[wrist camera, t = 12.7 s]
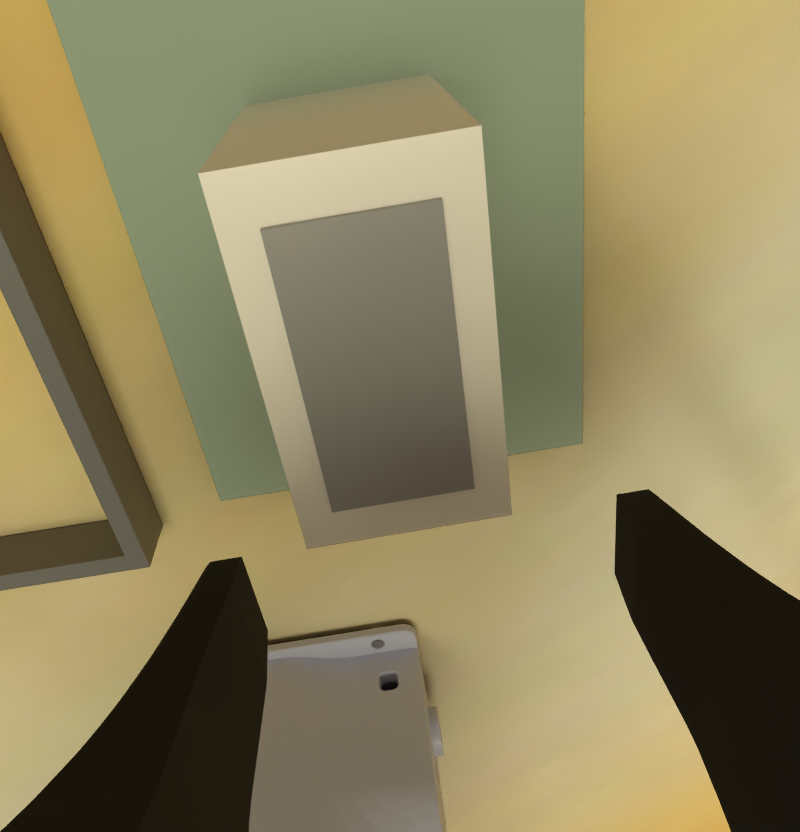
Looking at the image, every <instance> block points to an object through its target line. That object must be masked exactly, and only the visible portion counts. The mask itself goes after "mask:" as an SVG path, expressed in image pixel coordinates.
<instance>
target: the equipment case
mask: <svg viewBox="0 0 800 832" xmlns="http://www.w3.org/2000/svg"><path fill="white" fill-rule="evenodd" d="M0 289H1V291H2V293H3V295H4V297H5V300H6V302H7V304H8V306H9V308H10V310H11V312H12V315H13V317H14V319H15V321H16V323H17V325H18V327H19V330H20V332H21V334H22V336H23V338H24V340H25V343H26V345H27V347H28V349H29V351H30V353H31V355H32V358H33V360H34V362H35V364H36V366H37V368H38V370H39V373H40V375H41V377H42V379H43V381H44V383H45V385H46V388H47V390H48V392H49V394H50V396H51V398H52V400H53V403H54V405H55V407H56V409H57V411H58V413H59V416H60V418H61V420H62V422H63V424H64V426H65V428H66V431H67V433H68V435H69V437H70V439H71V441H72V443H73V446H74V448H75V450H76V452H77V454H78V456H79V458H80V461H81V463H82V465H83V467H84V469H85V471H86V473H87V476H88V478H89V480H90V482H91V484H92V486H93V489H94V491H95V493H96V495H97V497H98V499H99V501H100V504H101V506H102V508H103V510H104V512H105V514H106V516H107V519H108V520H106V521H100V522H93V523H87V524H81V525H74V526H68V527H62V528H55V529H49V530H43V531H37V532H30V533H24V534H18V535H11V536H5V537H0V591H1V590H7V589H14V588H20V587H26V586H33V585H39V584H45V583H51V582H58V581H64V580H70V579H77V578H83V577H89V576H96V575H102V574H108V573H114V572H121V571H127V570H133V569H140V568H146V567H150V565H151V562H152V558H153V555H154V552H155V549H156V545H157V542H158V539H159V536H160V533H161V529H162V526H163V525H162V523H161V521H160V518H159V516H158V513H157V511H156V509H155V506H154V504H153V501H152V499H151V497H150V494H149V492H148V489H147V487H146V484H145V482H144V480H143V477H142V475H141V472H140V470H139V468H138V465H137V463H136V460H135V458H134V455H133V453H132V451H131V448H130V446H129V443H128V441H127V439H126V436H125V434H124V431H123V429H122V426H121V424H120V422H119V419H118V417H117V414H116V412H115V410H114V407H113V405H112V402H111V400H110V398H109V395H108V393H107V390H106V388H105V385H104V383H103V381H102V378H101V376H100V373H99V371H98V369H97V366H96V364H95V361H94V359H93V356H92V354H91V352H90V349H89V347H88V344H87V342H86V340H85V337H84V335H83V332H82V330H81V327H80V325H79V323H78V320H77V318H76V315H75V313H74V311H73V308H72V306H71V303H70V301H69V298H68V296H67V294H66V291H65V289H64V286H63V284H62V282H61V279H60V277H59V274H58V272H57V270H56V267H55V265H54V262H53V260H52V257H51V255H50V253H49V250H48V248H47V245H46V243H45V241H44V238H43V236H42V233H41V231H40V228H39V226H38V224H37V221H36V219H35V216H34V214H33V212H32V209H31V207H30V204H29V202H28V199H27V197H26V195H25V192H24V190H23V187H22V185H21V183H20V180H19V178H18V175H17V173H16V170H15V168H14V166H13V163H12V161H11V158H10V156H9V154H8V151H7V149H6V146H5V144H4V142H3V139H2V137H1V134H0Z"/></svg>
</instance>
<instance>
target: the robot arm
mask: <svg viewBox="0 0 800 832" xmlns="http://www.w3.org/2000/svg"><path fill="white" fill-rule="evenodd" d="M615 575H616V578H617V581H618V584H619V586H620V589H621V592H622V595H623V597H624V600H625V603H626V605H627V608H628V611H629V613H630V616H631V618H632V621H633V623H634V625H635V627H636V629H637V631H638V633H639V635H640V637H641V639H642V641H643V642H644V644H645V646H646V648H647V650H648V652H649V654H650V656H651V658H652V660H653V662H654V664H655V666H656V667H657V669H658V671H659V673H660V675H661V677H662V679H663V681H664V683H665V685H666V686H667V688H668V690H669V692H670V694H671V696H672V698H673V700H674V702H675V704H676V705H677V707H678V709H679V711H680V713H681V715H682V717H683V719H684V721H685V723H686V724H687V726H688V729H689V731H690V733H691V735H692V737H693V739H694V741H695V743H696V745H697V748H698V750H699V752H700V755H701V757H702V760H703V762H704V764H705V767H706V769H707V772H708V774H709V777H710V779H711V782H712V784H713V787H714V789H715V791H716V794H717V796H718V799H719V801H720V804H721V806H722V809H723V812H724V814H725V817H726V819H727V822H728V824H729V827H730V830H731V832H800V600H798V599H797V598H795V597H793V596H792V595H790V594H788V593H787V592H785V591H784V590H782V589H781V588H779V587H778V586H776V585H775V584H773V583H772V582H770V581H769V580H767V579H766V578H764V577H763V576H761V575H760V574H758V573H757V572H755V571H754V570H753V569H751V568H750V567H748V566H747V565H745V564H744V563H743V562H741V561H740V560H739V559H737V558H736V557H735V556H733V555H732V554H731V553H729V552H728V551H726V550H725V549H724V548H722V547H721V546H720V545H718V544H717V543H716V542H714V541H713V540H712V539H711V538H709V537H708V536H707V535H705V534H704V533H703V532H702V531H700V530H699V529H698V528H696V527H695V526H694V525H693V524H691V523H690V522H689V521H688V520H686V519H685V518H684V517H683V516H681V515H680V514H679V513H678V512H676V511H675V510H674V509H673V508H672V507H670V506H669V505H668V504H667V503H665V502H664V501H663V500H662V499H660V498H659V497H658V496H657V495H655V494H654V493H653V492H651V491H650V490H649V489H648V490H641V491H635V492H629V493H623V494H617V503H616V541H615ZM375 640H379V641H375ZM443 754H444V752H443V744H442V738H441V731H440V725H439V718H438V712H437V707H436V706H433V707H429V704H428V699H427V693H426V688H425V682H424V677H423V671H422V666H421V660H420V655H419V649H418V644H417V638H416V633H415V630H414V628H413V627H412V626H410V625H407V624H399V625H393V626H387V627H380V628H374V629H368V630H362V631H355V632H349V633H343V634H336V635H330V636H324V637H317V638H311V639H305V640H299V641H292V642H286V643H280V644H273V645H268V630H267V627H266V625H265V622H264V619H263V616H262V613H261V610H260V608H259V605H258V602H257V599H256V596H255V593H254V591H253V588H252V585H251V582H250V579H249V576H248V574H247V571H246V568H245V565H244V562H243V559H242V557H238V558H232V559H226V560H219V561H213V562H210V563H209V564H208V565H207V567H206V568H205V570H204V572H203V573H202V575H201V577H200V578H199V580H198V582H197V583H196V585H195V587H194V589H193V590H192V592H191V594H190V595H189V597H188V599H187V600H186V602H185V604H184V605H183V607H182V609H181V610H180V612H179V614H178V615H177V617H176V619H175V620H174V622H173V623H172V625H171V626H170V628H169V630H168V631H167V633H166V634H165V636H164V637H163V639H162V640H161V642H160V644H159V645H158V647H157V648H156V650H155V651H154V653H153V654H152V656H151V657H150V659H149V660H148V662H147V663H146V665H145V666H144V668H143V669H142V670H141V672H140V673H139V675H138V676H137V677H136V679H135V680H134V682H133V683H132V684H131V686H130V687H129V689H128V690H127V691H126V693H125V694H124V696H123V697H122V698H121V700H120V701H119V702H118V704H117V705H116V706H115V707H114V709H113V710H112V711H111V713H110V714H109V715H108V717H107V718H106V719H105V720H104V722H103V723H102V724H101V725H100V726H99V728H98V729H97V730H96V731H95V733H94V734H93V735H92V736H91V737H90V739H89V740H88V741H87V742H86V743H85V745H84V746H83V747H82V748H81V749H80V750H79V751H78V753H77V754H76V755H75V756H74V757H73V758H72V759H71V760H70V761H69V762H68V764H67V765H66V766H65V767H64V768H63V769H62V770H61V771H60V772H59V773H58V774H57V775H56V776H55V777H54V778H53V779H52V781H51V782H50V783H49V784H48V785H47V786H46V787H45V788H44V789H43V790H42V791H41V792H40V793H39V794H38V795H37V796H36V798H35V799H34V800H33V801H32V802H31V803H30V804H29V805H27V806H26V807H25V808H24V809H23V810H22V811H21V812H20V813H19V814H18V815H17V816H16V817H15V818H14V819H13V820H12V821H11V822H10V823H9V824H8V825H7V826H6V827H5V828H4V829H2V830H1V831H0V832H447V829H446V822H445V814H444V807H443V799H442V792H441V785H440V777H439V770H438V763H437V757H438V756H443Z"/></svg>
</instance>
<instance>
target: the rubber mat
mask: <svg viewBox="0 0 800 832" xmlns="http://www.w3.org/2000/svg"><path fill="white" fill-rule="evenodd" d="M47 2H48V5H49V8H50V11H51V14H52V17H53V20H54V23H55V25H56V28H57V31H58V34H59V37H60V40H61V43H62V46H63V48H64V51H65V54H66V57H67V60H68V63H69V66H70V69H71V72H72V74H73V77H74V80H75V83H76V86H77V89H78V92H79V95H80V97H81V100H82V103H83V106H84V109H85V112H86V115H87V118H88V120H89V123H90V126H91V129H92V132H93V135H94V138H95V141H96V143H97V146H98V149H99V152H100V155H101V158H102V161H103V164H104V166H105V169H106V172H107V175H108V178H109V181H110V184H111V187H112V190H113V192H114V195H115V198H116V201H117V204H118V207H119V210H120V213H121V215H122V218H123V221H124V224H125V227H126V230H127V233H128V236H129V238H130V241H131V244H132V247H133V250H134V253H135V256H136V259H137V261H138V264H139V267H140V270H141V273H142V276H143V279H144V282H145V284H146V287H147V290H148V293H149V296H150V299H151V302H152V305H153V308H154V310H155V313H156V316H157V319H158V322H159V325H160V328H161V331H162V333H163V336H164V339H165V342H166V345H167V348H168V351H169V354H170V356H171V359H172V362H173V365H174V368H175V371H176V374H177V377H178V379H179V382H180V385H181V388H182V391H183V394H184V397H185V400H186V402H187V405H188V408H189V411H190V414H191V417H192V420H193V423H194V425H195V428H196V431H197V434H198V437H199V440H200V443H201V446H202V449H203V451H204V454H205V457H206V460H207V463H208V466H209V469H210V472H211V474H212V477H213V480H214V483H215V486H216V489H217V492H218V495H219V497H220V500H221V501H224V500H230V499H236V498H242V497H249V496H255V495H261V494H268V493H274V492H280V491H287V490H290V489H289V485H288V482H287V478H286V475H285V471H284V468H283V465H282V461H281V458H280V454H279V451H278V447H277V444H276V440H275V437H274V434H273V430H272V427H271V423H270V420H269V416H268V413H267V410H266V406H265V403H264V399H263V396H262V392H261V389H260V385H259V382H258V379H257V375H256V372H255V368H254V365H253V361H252V358H251V354H250V351H249V348H248V344H247V341H246V337H245V334H244V330H243V327H242V323H241V320H240V317H239V313H238V310H237V306H236V303H235V299H234V296H233V292H232V289H231V286H230V282H229V279H228V275H227V272H226V268H225V265H224V261H223V258H222V255H221V251H220V248H219V244H218V241H217V237H216V234H215V230H214V227H213V224H212V220H211V217H210V213H209V210H208V206H207V203H206V199H205V196H204V193H203V189H202V186H201V182H200V179H199V175H198V173H199V171H200V170H201V168H202V167H203V166H204V164H205V163H206V161H207V160H208V158H209V157H210V155H211V154H212V152H213V151H214V149H215V148H216V146H217V145H218V144H219V142H220V141H221V139H222V138H223V136H224V135H225V133H226V132H227V130H228V129H229V127H230V126H231V125H232V123H233V122H234V120H235V119H236V117H237V116H238V114H239V113H240V111H241V110H242V108H243V107H244V105H250V104H256V103H262V102H268V101H274V100H280V99H285V98H291V97H297V96H303V95H309V94H315V93H321V92H326V91H332V90H338V89H344V88H350V87H356V86H362V85H367V84H373V83H379V82H385V81H391V80H397V79H403V78H408V77H414V76H420V75H426V74H430V75H431V76H432V77H433V78H434V79H435V80H436V81H437V82H438V83H439V84H440V85H441V86H442V87H443V88H444V89H445V90H446V91H447V92H448V93H449V94H450V95H451V96H452V97H453V98H454V99H455V100H456V101H457V102H458V103H459V104H460V105H461V106H462V107H463V108H464V109H465V110H466V111H467V112H468V113H469V114H470V115H471V116H472V117H474V118H475V119H476V120H477V121H478V122H479V123H480V124H481V125H482V138H483V151H484V164H485V176H486V189H487V202H488V215H489V228H490V241H491V253H492V266H493V279H494V292H495V305H496V318H497V330H498V343H499V356H500V369H501V382H502V395H503V407H504V420H505V433H506V446H507V455H513V454H519V453H526V452H532V451H538V450H545V449H551V448H557V447H564V446H570V445H576V444H582V443H583V231H584V15H585V0H47Z"/></svg>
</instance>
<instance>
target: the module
mask: <svg viewBox="0 0 800 832" xmlns="http://www.w3.org/2000/svg"><path fill="white" fill-rule="evenodd" d="M198 175H199V179H200V182H201V186H202V189H203V193H204V196H205V199H206V203H207V206H208V210H209V213H210V217H211V220H212V224H213V227H214V230H215V234H216V237H217V241H218V244H219V248H220V251H221V255H222V258H223V261H224V265H225V268H226V272H227V275H228V279H229V282H230V286H231V289H232V292H233V296H234V299H235V303H236V306H237V310H238V313H239V317H240V320H241V323H242V327H243V330H244V334H245V337H246V341H247V344H248V348H249V351H250V354H251V358H252V361H253V365H254V368H255V372H256V375H257V379H258V382H259V385H260V389H261V392H262V396H263V399H264V403H265V406H266V410H267V413H268V416H269V420H270V423H271V427H272V430H273V434H274V437H275V440H276V444H277V447H278V451H279V454H280V458H281V461H282V465H283V468H284V471H285V475H286V478H287V482H288V485H289V489H290V492H291V496H292V499H293V502H294V506H295V509H296V513H297V516H298V520H299V523H300V527H301V530H302V533H303V537H304V540H305V544H306V547H307V549H310V548H316V547H322V546H328V545H334V544H340V543H346V542H352V541H358V540H364V539H370V538H376V537H382V536H388V535H394V534H400V533H406V532H412V531H418V530H424V529H430V528H436V527H442V526H448V525H454V524H460V523H466V522H472V521H478V520H484V519H490V518H496V517H502V516H508V515H512V510H511V497H510V484H509V472H508V459H507V446H506V433H505V420H504V407H503V395H502V382H501V369H500V356H499V343H498V330H497V318H496V305H495V292H494V279H493V266H492V253H491V241H490V228H489V215H488V202H487V189H486V176H485V164H484V151H483V138H482V125H481V124H480V123H479V122H478V121H477V120H476V119H475V118H474V117H472V116H471V115H470V114H469V113H468V112H467V111H466V110H465V109H464V108H463V107H462V106H461V105H460V104H459V103H458V102H457V101H456V100H455V99H454V98H453V97H452V96H451V95H450V94H449V93H448V92H447V91H446V90H445V89H444V88H443V87H442V86H441V85H440V84H439V83H438V82H437V81H436V80H435V79H434V78H433V77H432V76H431V75H430V74H426V75H420V76H414V77H408V78H403V79H397V80H391V81H385V82H379V83H373V84H367V85H362V86H356V87H350V88H344V89H338V90H332V91H326V92H321V93H315V94H309V95H303V96H297V97H291V98H285V99H280V100H274V101H268V102H262V103H256V104H250V105H244V107H243V108H242V110H241V111H240V113H239V114H238V116H237V117H236V119H235V120H234V122H233V123H232V125H231V126H230V127H229V129H228V130H227V132H226V133H225V135H224V136H223V138H222V139H221V141H220V142H219V144H218V145H217V146H216V148H215V149H214V151H213V152H212V154H211V155H210V157H209V158H208V160H207V161H206V163H205V164H204V166H203V167H202V168H201V170H200V171H199V173H198Z"/></svg>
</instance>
